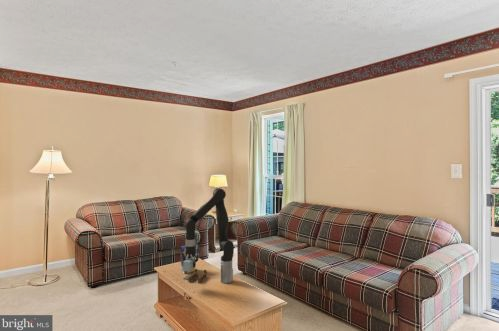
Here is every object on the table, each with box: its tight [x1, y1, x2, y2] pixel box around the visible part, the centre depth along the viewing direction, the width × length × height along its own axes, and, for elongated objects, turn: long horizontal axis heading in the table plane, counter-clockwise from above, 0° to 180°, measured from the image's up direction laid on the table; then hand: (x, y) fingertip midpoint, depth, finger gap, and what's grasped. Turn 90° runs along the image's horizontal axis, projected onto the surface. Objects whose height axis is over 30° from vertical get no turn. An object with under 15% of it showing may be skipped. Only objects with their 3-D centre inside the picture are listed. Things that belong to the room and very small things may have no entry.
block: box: [183, 259, 194, 271], centre depth 231 cm, size 5×8×7 cm, turn 164°
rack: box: [188, 268, 207, 284], centre depth 247 cm, size 10×14×6 cm
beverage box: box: [180, 245, 197, 274], centre depth 266 cm, size 7×11×22 cm, turn 132°
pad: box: [183, 274, 199, 281], centre depth 251 cm, size 9×9×1 cm
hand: (190, 266), depth 234 cm, fingers closed on block, 5 cm apart
